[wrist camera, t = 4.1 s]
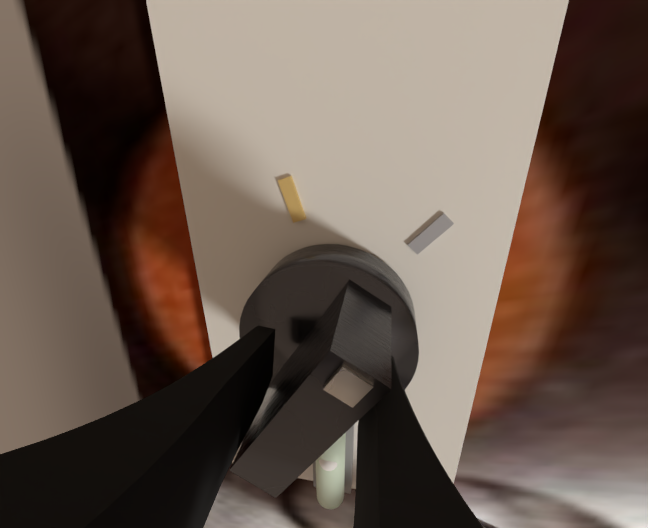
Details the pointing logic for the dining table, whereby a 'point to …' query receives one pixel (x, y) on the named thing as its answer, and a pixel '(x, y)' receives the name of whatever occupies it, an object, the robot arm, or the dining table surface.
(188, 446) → the robot arm
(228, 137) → the base plate
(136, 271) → the dining table surface
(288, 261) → the knob
